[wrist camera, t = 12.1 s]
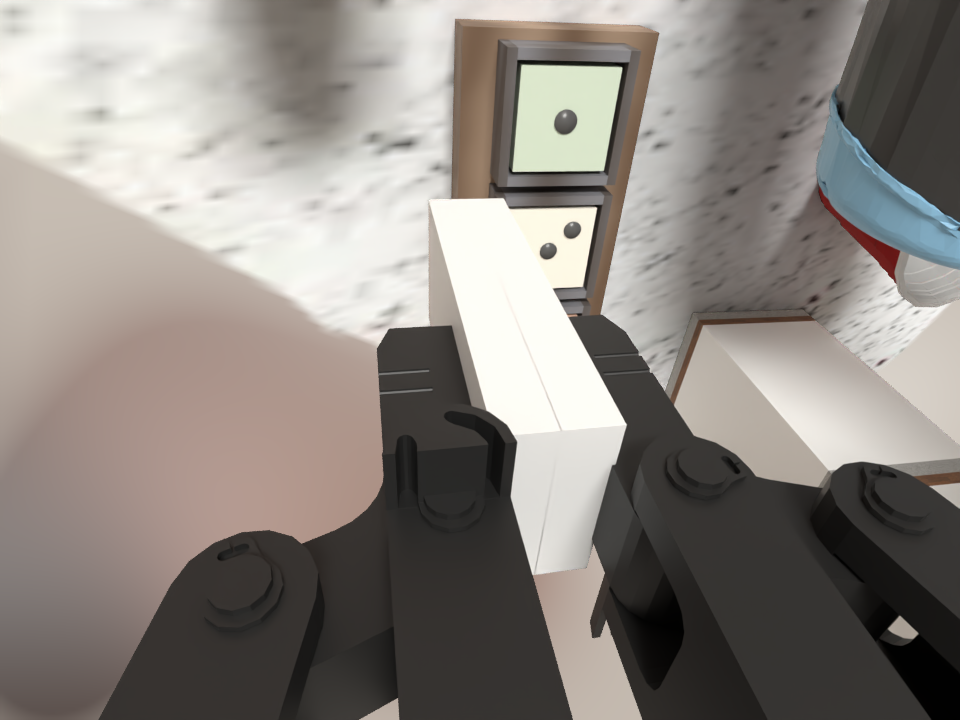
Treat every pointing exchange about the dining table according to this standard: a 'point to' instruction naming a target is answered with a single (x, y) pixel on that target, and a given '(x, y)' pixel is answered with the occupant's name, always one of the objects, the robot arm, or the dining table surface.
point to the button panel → (489, 114)
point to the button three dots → (558, 239)
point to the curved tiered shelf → (801, 405)
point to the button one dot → (562, 115)
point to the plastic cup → (907, 268)
